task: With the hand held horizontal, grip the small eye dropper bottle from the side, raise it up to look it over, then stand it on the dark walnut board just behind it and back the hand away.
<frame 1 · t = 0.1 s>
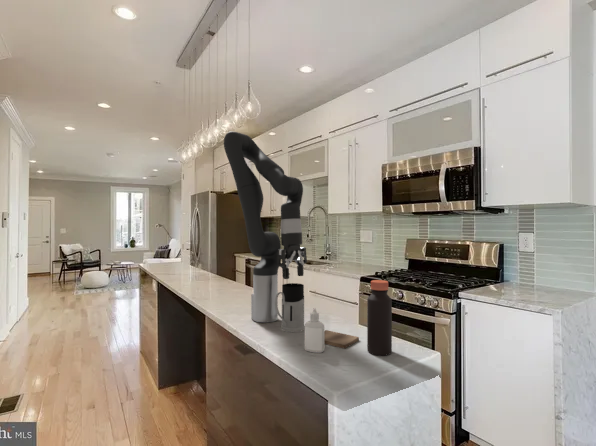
hand: (293, 277, 122), 17 cm above the countertop, tool pointing down, fingers open, 8 cm apart
eye dropper bottle: (314, 351, 98), on the countertop
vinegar: (379, 352, 97), on the countertop
walnut board: (334, 340, 107), on the countertop
glass holder: (288, 330, 117), on the countertop
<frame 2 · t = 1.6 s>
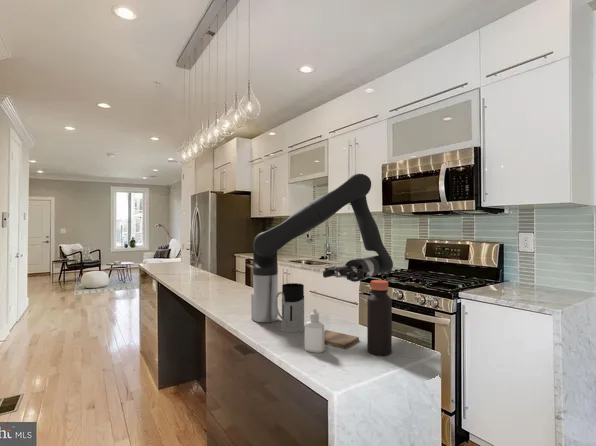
hand: (335, 275, 107), 20 cm above the countertop, tool horizontal, fingers open, 8 cm apart
nothing on the countertop moved.
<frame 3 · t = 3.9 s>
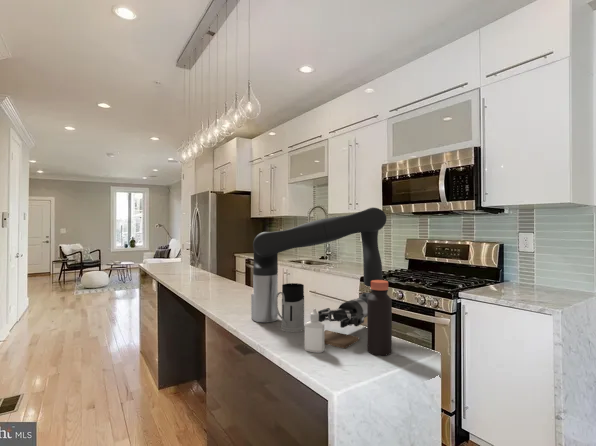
hand: (329, 321, 104), 7 cm above the countertop, tool horizontal, fingers open, 8 cm apart
nothing on the countertop moved.
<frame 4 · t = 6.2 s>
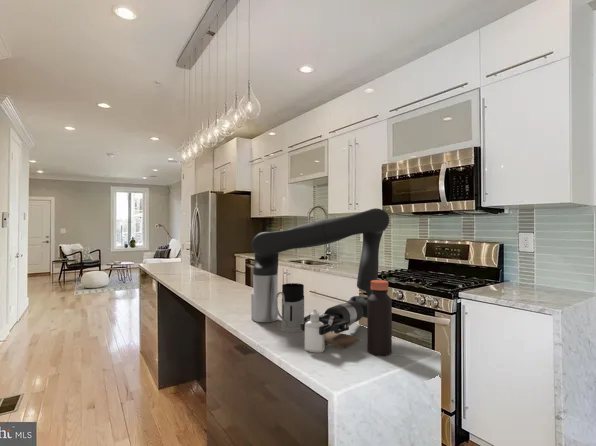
hand: (310, 329, 97), 7 cm above the countertop, tool horizontal, fingers closed on eye dropper bottle, 5 cm apart
eye dropper bottle: (314, 350, 98), on the countertop, touching gripper
everything else where it was.
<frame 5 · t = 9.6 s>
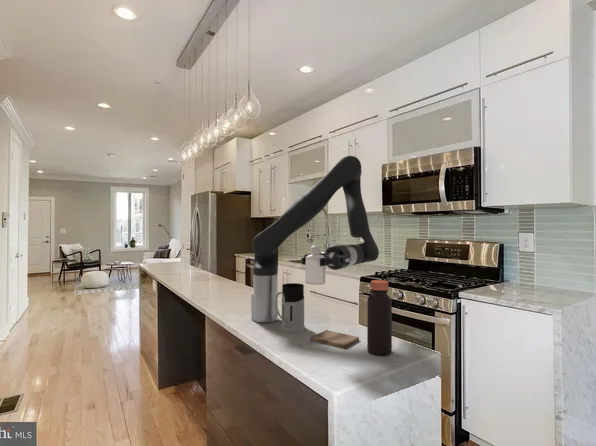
hand: (311, 261, 97), 26 cm above the countertop, tool horizontal, fingers closed on eye dropper bottle, 5 cm apart
eye dropper bottle: (315, 284, 99), point 19 cm above the countertop, touching gripper
everything else where it was.
when the fingers open (9 cm above the countertop, at t = 13.1 s): eye dropper bottle drops 1 cm, resting on walnut board.
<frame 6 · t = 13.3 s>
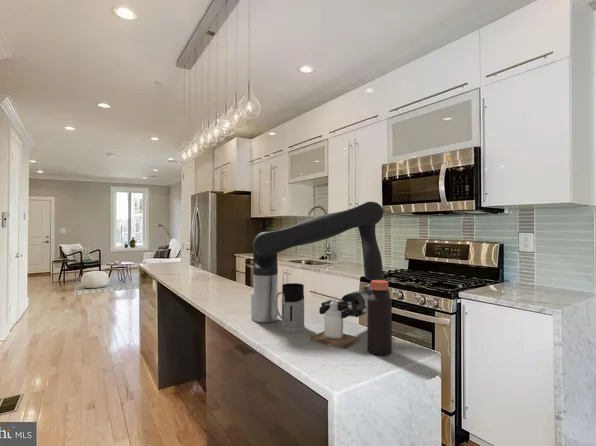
hand: (331, 312, 105), 9 cm above the countertop, tool horizontal, fingers open, 7 cm apart
eye dropper bottle: (333, 337, 107), point 1 cm above the countertop, touching walnut board
everything else where it was.
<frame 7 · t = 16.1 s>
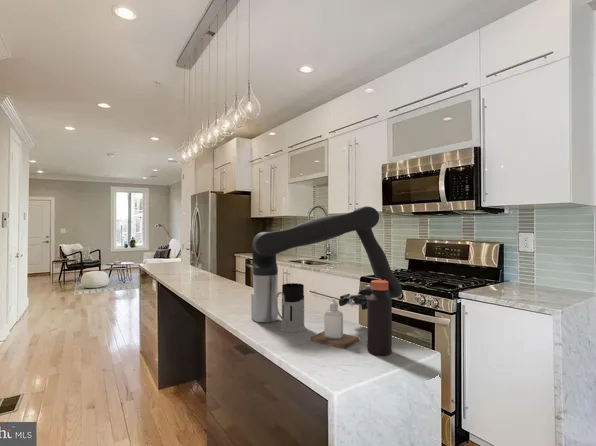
hand: (351, 304, 116), 9 cm above the countertop, tool horizontal, fingers open, 8 cm apart
nothing on the countertop moved.
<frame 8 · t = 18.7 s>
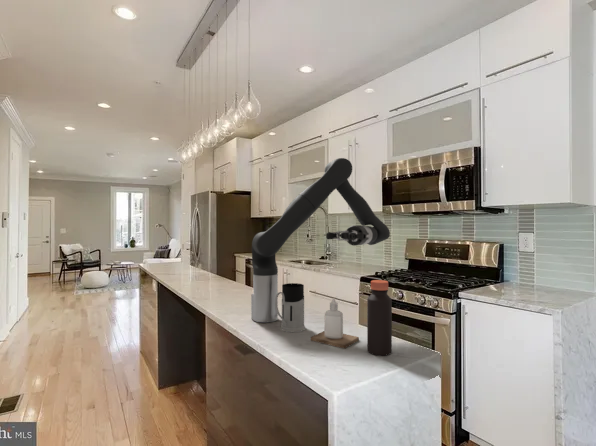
hand: (338, 236, 119), 32 cm above the countertop, tool horizontal, fingers open, 8 cm apart
nothing on the countertop moved.
at the end: eye dropper bottle inside the target area on the walnut board (0.4 cm from its centre), point 0.8 cm above the walnut board's base; eye dropper bottle tilted 0°; the gripper is holding nothing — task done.
